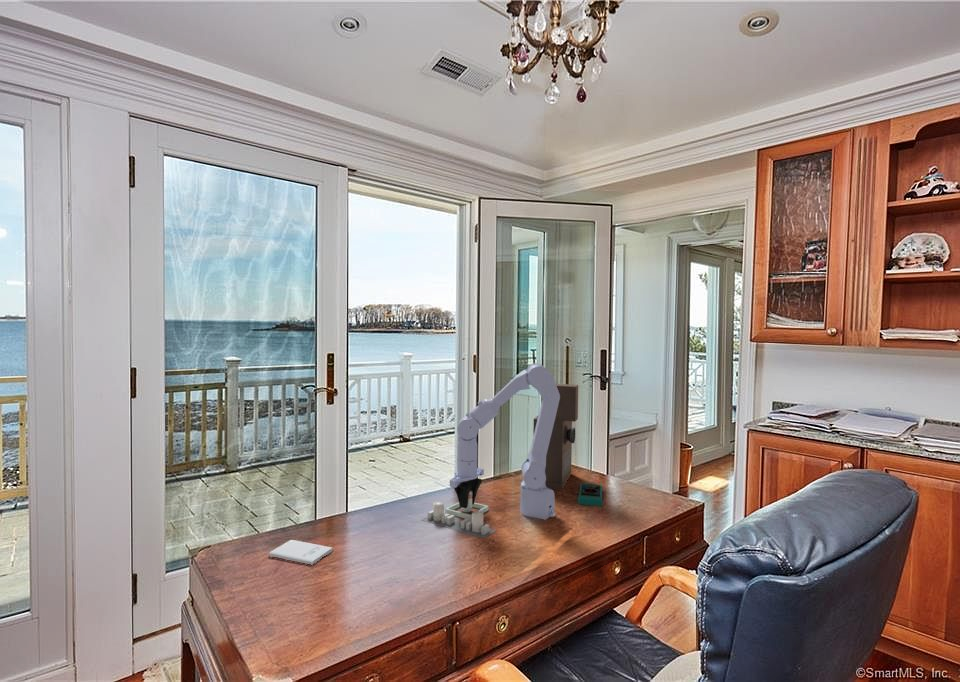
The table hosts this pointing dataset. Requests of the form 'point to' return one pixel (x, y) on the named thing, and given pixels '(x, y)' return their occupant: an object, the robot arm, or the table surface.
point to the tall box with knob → (561, 437)
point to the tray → (463, 515)
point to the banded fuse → (469, 507)
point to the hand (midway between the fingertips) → (467, 505)
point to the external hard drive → (301, 551)
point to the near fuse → (477, 522)
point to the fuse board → (459, 525)
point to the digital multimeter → (590, 494)
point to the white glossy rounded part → (438, 511)
